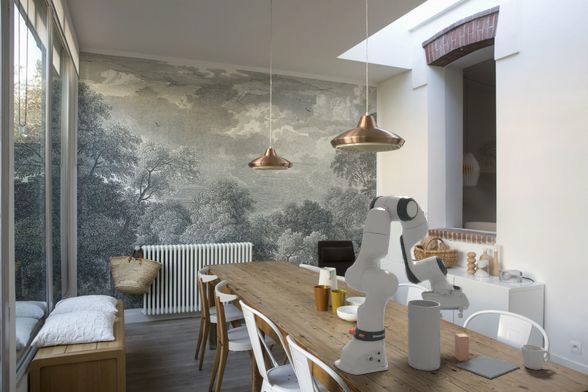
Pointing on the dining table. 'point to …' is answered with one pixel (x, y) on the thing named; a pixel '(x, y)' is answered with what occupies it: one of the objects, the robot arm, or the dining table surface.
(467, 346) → the terracotta block
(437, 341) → the cylinder vase
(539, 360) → the cup
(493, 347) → the dining table surface
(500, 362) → the charcoal mat
